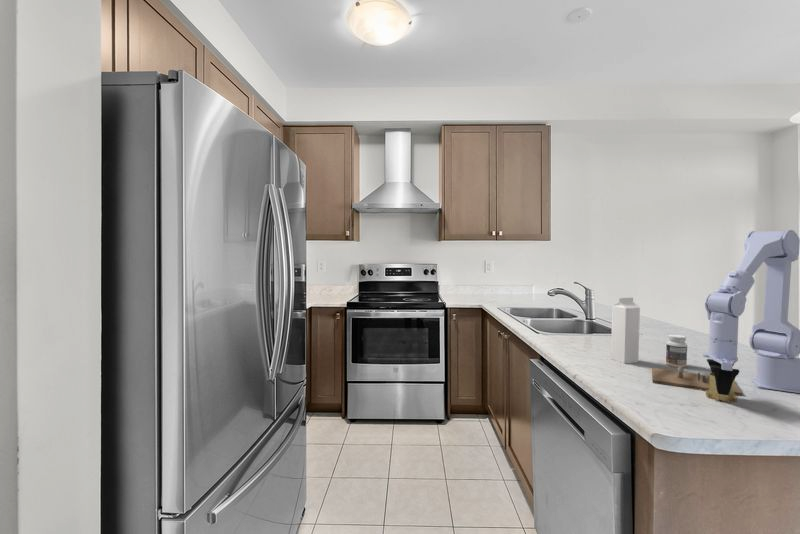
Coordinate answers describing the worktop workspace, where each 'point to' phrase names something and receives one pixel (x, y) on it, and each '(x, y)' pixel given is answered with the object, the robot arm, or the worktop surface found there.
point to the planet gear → (714, 394)
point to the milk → (625, 331)
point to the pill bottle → (676, 351)
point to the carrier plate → (684, 379)
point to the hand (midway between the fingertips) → (721, 390)
